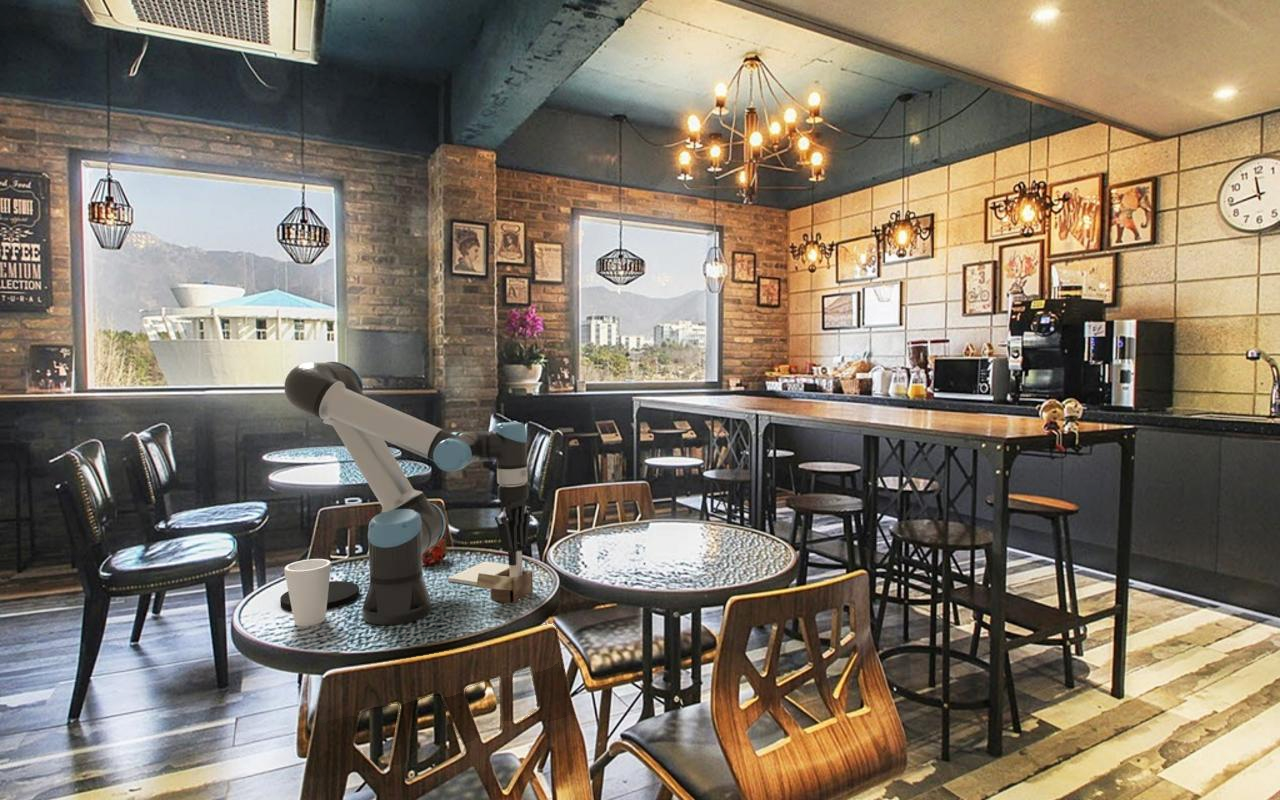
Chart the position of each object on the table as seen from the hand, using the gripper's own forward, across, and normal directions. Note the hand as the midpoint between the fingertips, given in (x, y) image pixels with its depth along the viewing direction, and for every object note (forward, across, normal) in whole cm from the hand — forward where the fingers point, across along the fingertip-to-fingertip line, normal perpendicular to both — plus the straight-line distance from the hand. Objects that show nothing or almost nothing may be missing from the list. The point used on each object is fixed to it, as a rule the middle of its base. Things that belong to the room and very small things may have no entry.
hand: (516, 576), depth 172 cm
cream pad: (+4, +9, +17) cm, 20 cm away
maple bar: (+1, -6, 0) cm, 6 cm away
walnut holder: (+5, -2, 0) cm, 5 cm away
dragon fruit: (+4, +13, +38) cm, 41 cm away
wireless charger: (+4, -22, +44) cm, 49 cm away
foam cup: (+4, -33, +34) cm, 47 cm away
